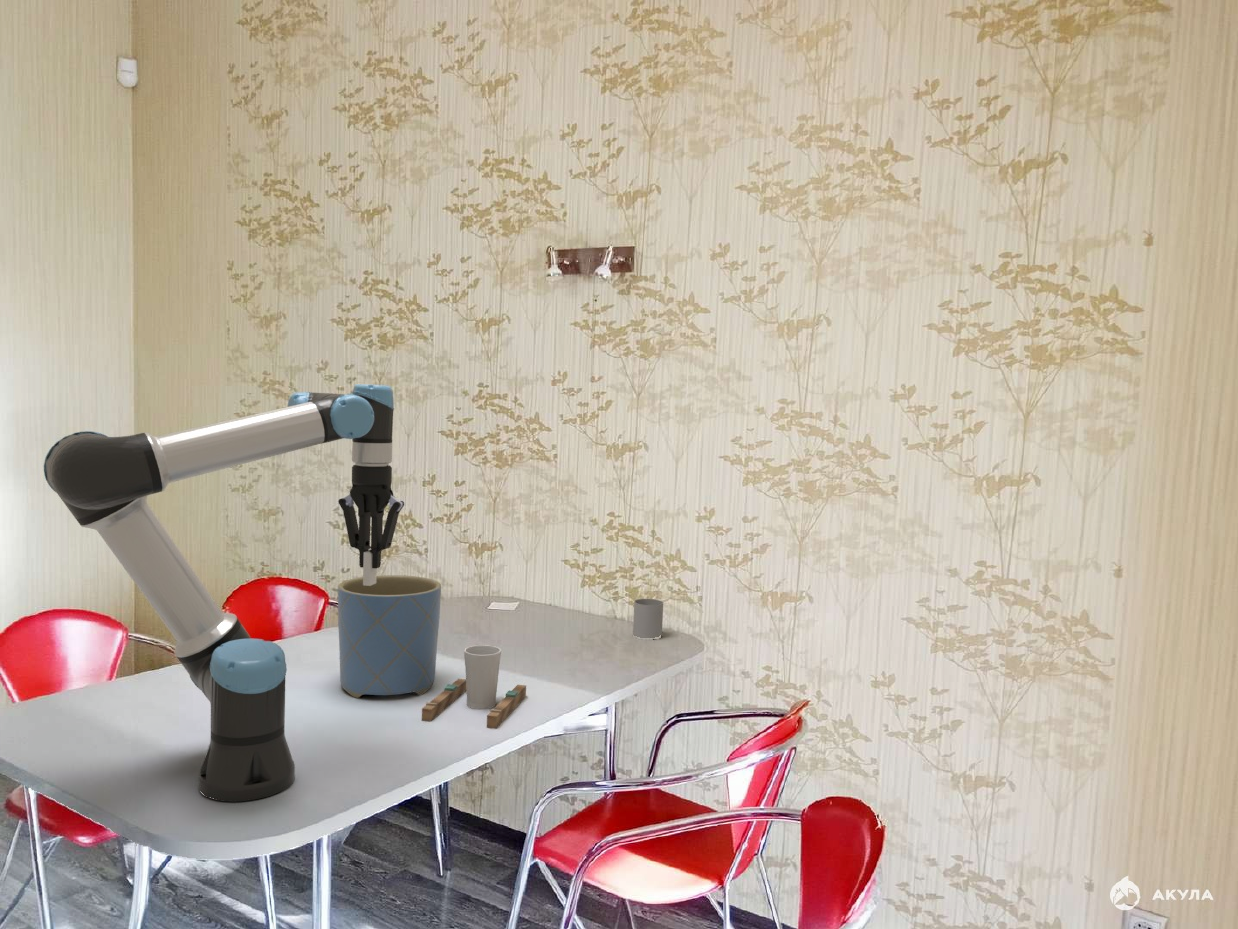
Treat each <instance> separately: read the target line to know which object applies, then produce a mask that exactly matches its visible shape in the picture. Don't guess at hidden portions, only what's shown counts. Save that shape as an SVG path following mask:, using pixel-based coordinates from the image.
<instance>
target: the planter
mask: <svg viewBox="0 0 1238 929" xmlns="http://www.w3.org/2000/svg"><path fill="white" fill-rule="evenodd" d="M441 595H442V584H441V583H440V582H439V581H437V580H435V579H432V578H427V577H422V576H416V575H415V576H413V575H399V574H398V575H396V574H388V575H384V574H383V575H376V584H373V585H371V586H365V585H363V576H361V577H356V578H352V579H348V580H344V581H342V582H340V583H339V584H338V586H337V616H338V617H337V618H338V619H337V621H338V623H337V624H338V642H339V643H338V646H339V648H338V649H339V678H340V679H339V680H340V684H341V687H342V689H343V690H345V692H347V693H348V695H350V696H352V697H354V698H357V699H359V698H361V696H364V695H371V696H372V695H374V696H395V695H402V694H403V695H404V694H409V693H415V694H417V695H418V696H421V695H424V694H425V693H426V692H427V691H428V690H429V689H430V688H431V686H432V685H433V684H434V682H435V678H436V664H437V652H438V642H439V640H438V639H439V627H440V614H441V597H442V596H441Z"/></svg>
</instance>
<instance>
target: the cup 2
mask: <svg viewBox="0 0 1238 929" xmlns="http://www.w3.org/2000/svg"><path fill="white" fill-rule="evenodd" d="M633 604H634V605H633V624H632V628H633V629H632V636H633V635H634V636H637V637H640V638H655V637H659V636H660V635H662V636H663V617H664V616H663V615H664V601H662V600H659V599H655V598H654V599H653V598H641V599H636V600H634V602H633Z"/></svg>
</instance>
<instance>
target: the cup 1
mask: <svg viewBox="0 0 1238 929" xmlns="http://www.w3.org/2000/svg"><path fill="white" fill-rule="evenodd" d="M463 654H464V666H465V679H466V691H465V692H466V706H467V707H468V708H471V709H476V710H487V709H493V707H494V708H495V707H496V706H497V704H496V702H497V692H498V690H497V689H498V683H499V682H498V681H499V674H500V664H501V656H502V648H500V647H498V646H495V645H494V646H493V645H487V644H484V645H483V644H480V645H479V644H478V645H470V646H467V647H465V648H464V651H463Z"/></svg>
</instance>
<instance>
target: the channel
mask: <svg viewBox="0 0 1238 929" xmlns="http://www.w3.org/2000/svg"><path fill="white" fill-rule="evenodd" d="M465 692H467V691H466V678H458V679H457V680H455V681H454V682H452V684H446V685H445V687H443V691H442V692H441V693H440V694H438V695H437V696H435V697H434V698H433V699H431V701H430V702H425V705H424V706H423V707H422V708H421V721H424V722H432V721H433V720H434V719H435V718H437V717H438V716H439V715H440V714H441V713H442V712H443V711H445V710H446V709H447V708H449V707H450V705H452V703H454V702H455V701H456V700H457V699H459V698H460V697H461V696H462V695H463V694H464V693H465ZM526 696H527V685H525V684H516V686H514V688H512V690H507V691H506V693H505V696H504V698H502V700H501V701H500V702H499V703H497V704H496V705H495V706H494V708H490V712H489V713H488V714H487V716H486V728H487V729H497V728H498V727H499V726H500V725H501V724H502V723H503V722H504V721H505V720H506V718H508V716H509V715H511V713H512V712H514V710H515V708H517V707H518V705H519V704H520V703H521V702H522V701H523V700H524V699H525V698H526Z"/></svg>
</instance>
